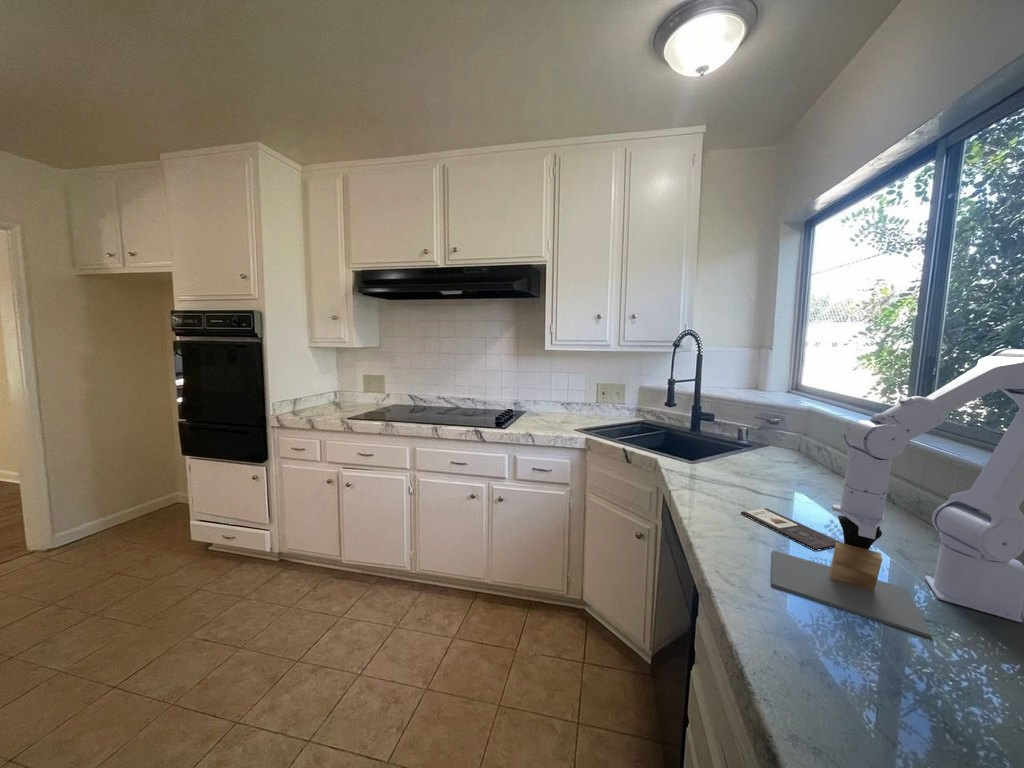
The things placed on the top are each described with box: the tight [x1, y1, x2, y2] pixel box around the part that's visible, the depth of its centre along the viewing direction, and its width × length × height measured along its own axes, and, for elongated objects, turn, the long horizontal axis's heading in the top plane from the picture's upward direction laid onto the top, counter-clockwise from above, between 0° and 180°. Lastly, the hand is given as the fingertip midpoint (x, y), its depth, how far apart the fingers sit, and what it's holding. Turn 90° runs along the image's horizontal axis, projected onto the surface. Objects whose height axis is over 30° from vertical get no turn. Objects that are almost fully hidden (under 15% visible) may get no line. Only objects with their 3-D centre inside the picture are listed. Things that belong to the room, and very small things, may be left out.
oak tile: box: [830, 541, 883, 591], centre depth 69 cm, size 6×2×7 cm, turn 56°
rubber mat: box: [771, 550, 933, 639], centre depth 69 cm, size 20×14×1 cm
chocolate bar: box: [740, 508, 843, 551], centre depth 92 cm, size 9×1×18 cm
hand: (853, 559), depth 71 cm, fingers closed
